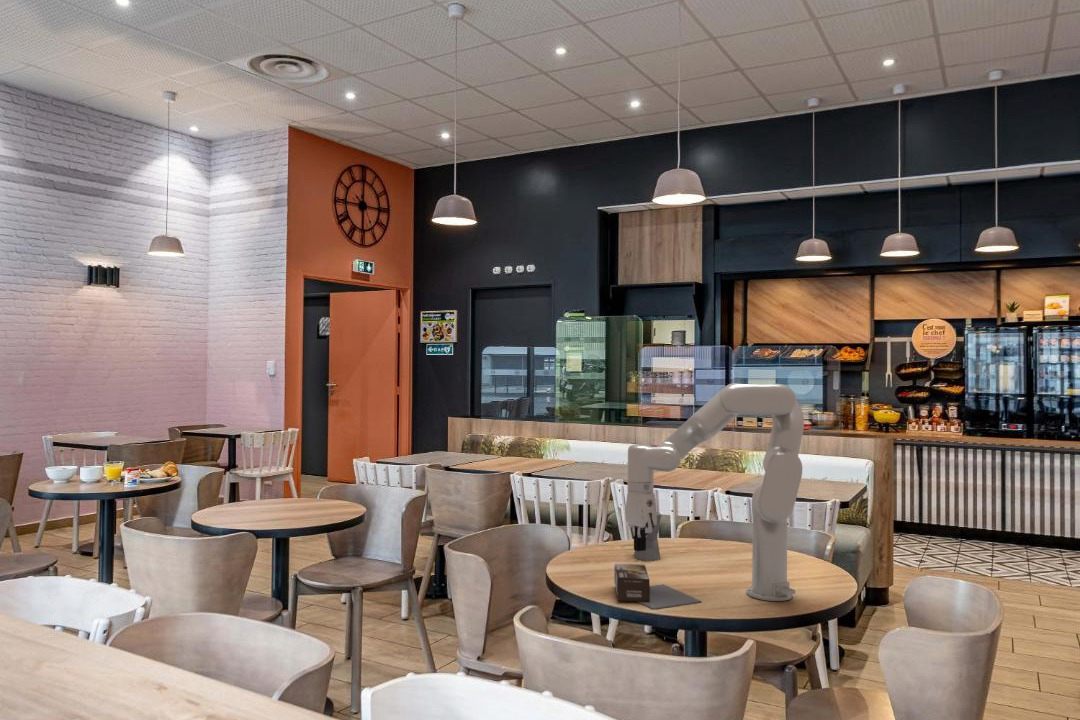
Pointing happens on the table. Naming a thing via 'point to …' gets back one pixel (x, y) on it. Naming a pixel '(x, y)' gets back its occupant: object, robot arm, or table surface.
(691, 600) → the mat
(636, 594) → the coffee box
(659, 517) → the coffeepot
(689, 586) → the table surface
